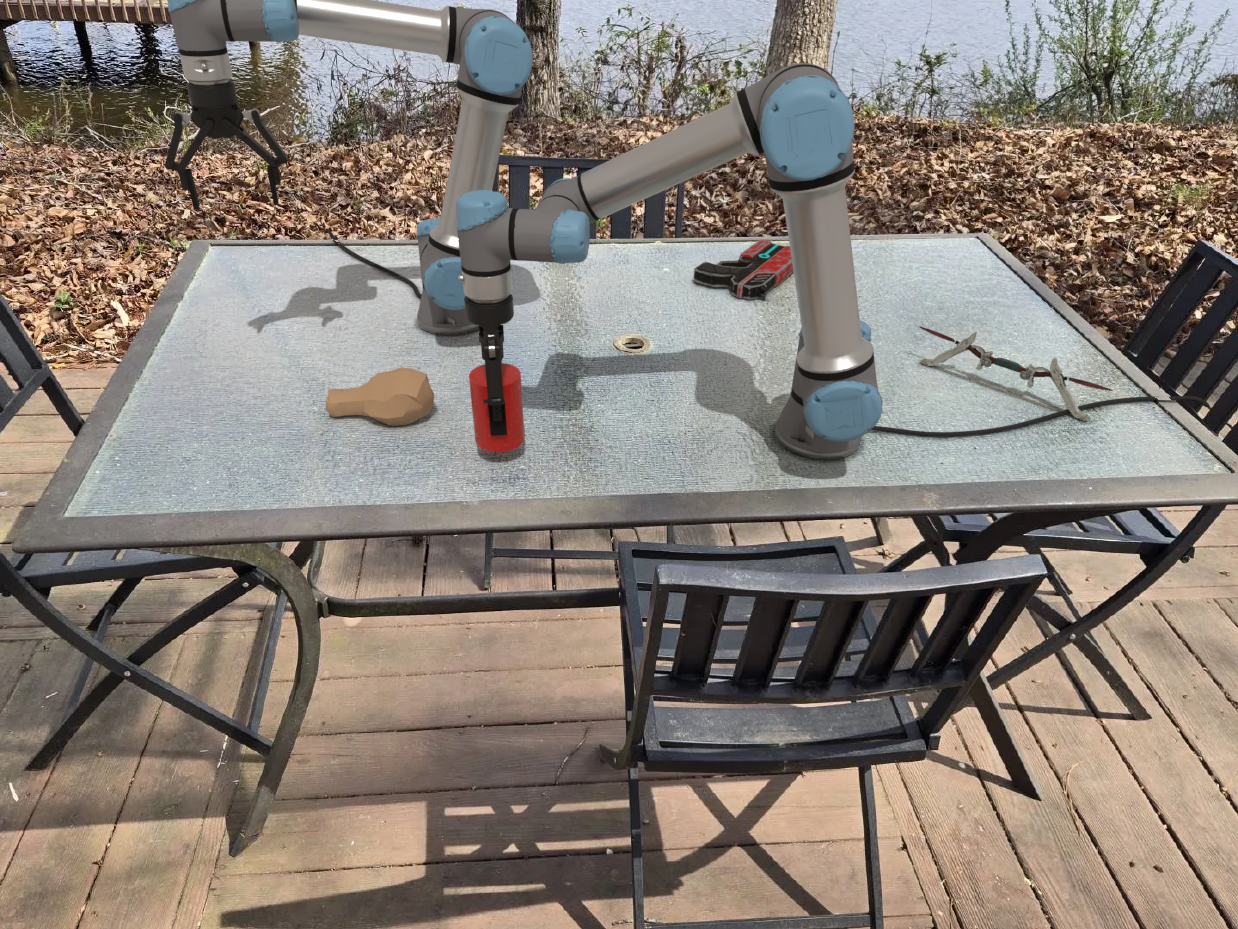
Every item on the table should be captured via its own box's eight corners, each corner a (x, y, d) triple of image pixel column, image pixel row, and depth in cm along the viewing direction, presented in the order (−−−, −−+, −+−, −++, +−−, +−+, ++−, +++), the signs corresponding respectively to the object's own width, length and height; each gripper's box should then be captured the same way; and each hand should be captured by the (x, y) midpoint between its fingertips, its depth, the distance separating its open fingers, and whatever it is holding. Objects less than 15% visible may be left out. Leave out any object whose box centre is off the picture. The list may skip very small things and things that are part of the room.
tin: (467, 448, 148) (460, 383, 141) (486, 423, 155) (480, 360, 148) (514, 455, 146) (510, 389, 139) (531, 429, 153) (527, 366, 146)
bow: (1101, 423, 166) (1119, 376, 160) (1098, 427, 165) (1116, 380, 159) (913, 357, 187) (924, 314, 182) (909, 360, 186) (919, 316, 181)
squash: (434, 432, 158) (421, 393, 152) (327, 440, 160) (310, 402, 153) (443, 394, 166) (431, 355, 160) (341, 402, 167) (325, 364, 161)
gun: (689, 269, 215) (762, 288, 207) (741, 232, 237) (809, 248, 229) (687, 286, 217) (759, 305, 209) (739, 248, 239) (806, 264, 231)
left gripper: (125, 87, 142) (160, 216, 154) (286, 82, 149) (308, 206, 161) (132, 78, 148) (165, 203, 160) (287, 74, 155) (308, 194, 167)
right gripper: (464, 270, 144) (476, 391, 157) (462, 324, 127) (475, 455, 139) (510, 268, 145) (518, 388, 158) (514, 321, 128) (523, 452, 140)
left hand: (237, 205), depth 160 cm, fingers open, 13 cm apart
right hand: (498, 420), depth 148 cm, fingers closed on tin, 8 cm apart
